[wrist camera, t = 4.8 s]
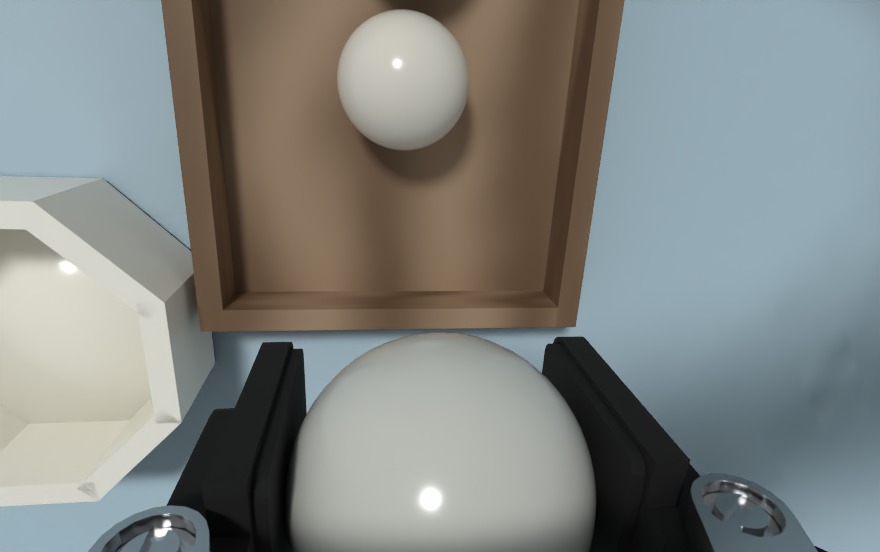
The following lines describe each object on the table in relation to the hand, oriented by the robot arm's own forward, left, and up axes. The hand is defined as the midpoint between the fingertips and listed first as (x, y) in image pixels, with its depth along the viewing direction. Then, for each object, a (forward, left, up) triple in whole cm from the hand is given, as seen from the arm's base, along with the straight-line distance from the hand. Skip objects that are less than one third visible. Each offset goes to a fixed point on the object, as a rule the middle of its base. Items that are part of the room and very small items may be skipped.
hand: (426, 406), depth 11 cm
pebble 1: (0, -6, -14) cm, 16 cm away
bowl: (+15, +5, -15) cm, 22 cm away
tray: (0, -6, -15) cm, 16 cm away
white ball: (0, 0, 0) cm, 0 cm away
